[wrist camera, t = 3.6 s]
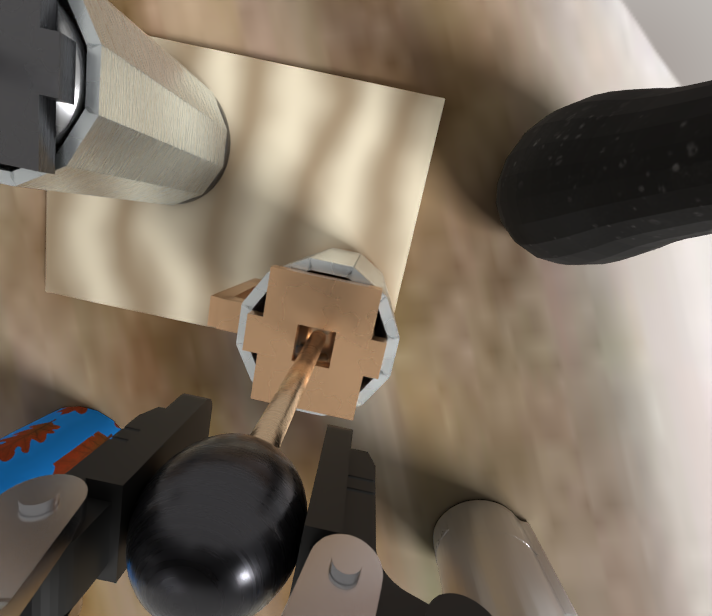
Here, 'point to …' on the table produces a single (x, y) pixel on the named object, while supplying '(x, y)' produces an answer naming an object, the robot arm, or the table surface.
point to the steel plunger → (67, 112)
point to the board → (257, 192)
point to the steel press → (104, 109)
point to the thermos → (52, 444)
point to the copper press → (318, 310)
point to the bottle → (612, 176)
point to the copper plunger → (225, 512)
